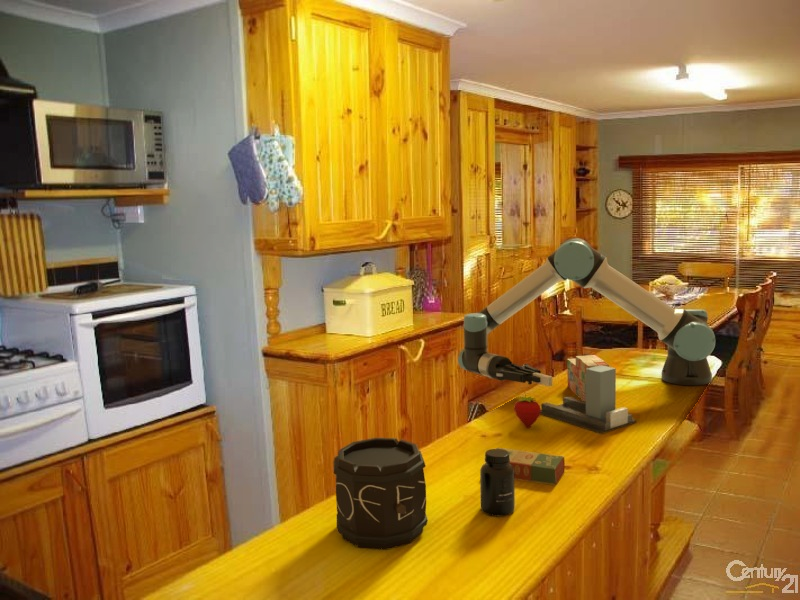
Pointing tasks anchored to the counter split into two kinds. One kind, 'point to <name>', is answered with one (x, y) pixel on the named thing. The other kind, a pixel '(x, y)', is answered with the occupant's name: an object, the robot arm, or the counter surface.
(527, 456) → the carton
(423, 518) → the wooden barrel
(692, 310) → the robot arm
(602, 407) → the grey rectangular block
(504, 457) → the supplement bottle
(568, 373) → the stack of blocks
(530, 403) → the strawberry
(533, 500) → the counter surface
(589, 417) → the chute
